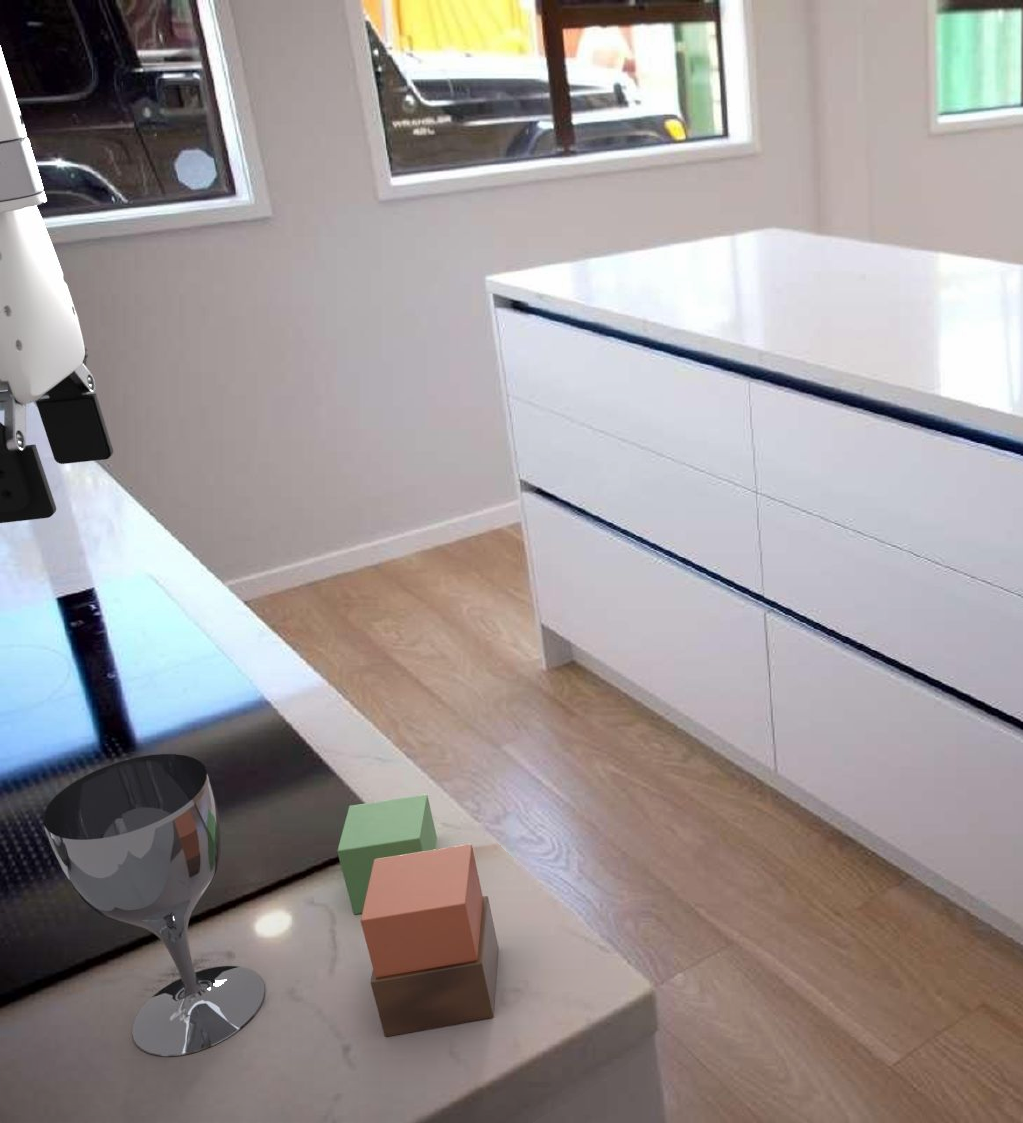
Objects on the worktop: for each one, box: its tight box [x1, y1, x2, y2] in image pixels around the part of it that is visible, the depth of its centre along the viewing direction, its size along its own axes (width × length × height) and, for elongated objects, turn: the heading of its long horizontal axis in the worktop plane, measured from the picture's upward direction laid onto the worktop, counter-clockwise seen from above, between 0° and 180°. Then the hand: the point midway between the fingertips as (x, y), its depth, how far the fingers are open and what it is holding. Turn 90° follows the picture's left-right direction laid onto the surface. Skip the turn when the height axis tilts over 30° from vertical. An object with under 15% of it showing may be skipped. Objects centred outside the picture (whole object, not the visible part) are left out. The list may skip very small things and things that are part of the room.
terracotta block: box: [360, 843, 484, 978], centre depth 72 cm, size 6×6×4 cm
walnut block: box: [369, 895, 499, 1037], centre depth 74 cm, size 6×6×4 cm
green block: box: [336, 794, 438, 915], centre depth 83 cm, size 5×5×5 cm
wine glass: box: [42, 753, 266, 1057], centre depth 71 cm, size 8×8×15 cm
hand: (57, 487), depth 74 cm, fingers open, 9 cm apart
